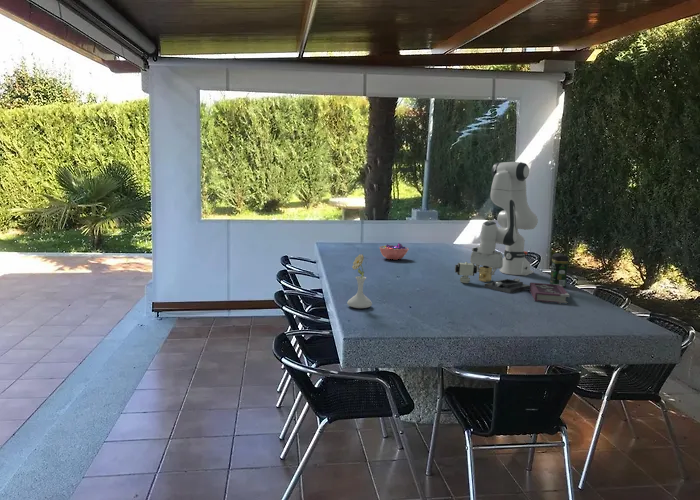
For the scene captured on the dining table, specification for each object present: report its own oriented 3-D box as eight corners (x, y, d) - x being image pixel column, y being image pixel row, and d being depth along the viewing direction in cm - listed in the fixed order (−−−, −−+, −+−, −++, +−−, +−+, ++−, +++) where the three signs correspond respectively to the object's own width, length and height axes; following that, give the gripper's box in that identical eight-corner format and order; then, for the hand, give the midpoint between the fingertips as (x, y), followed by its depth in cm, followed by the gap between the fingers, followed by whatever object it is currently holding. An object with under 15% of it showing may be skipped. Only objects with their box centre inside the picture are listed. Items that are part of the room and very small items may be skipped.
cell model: (376, 257, 400) (377, 240, 398) (405, 257, 402) (406, 241, 401) (380, 261, 383) (381, 244, 382) (410, 262, 386) (411, 245, 384)
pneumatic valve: (475, 284, 324) (477, 263, 322) (454, 283, 324) (456, 262, 322) (474, 282, 329) (475, 261, 327) (453, 281, 329) (455, 260, 328)
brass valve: (485, 279, 339) (487, 260, 337) (493, 280, 335) (494, 262, 334) (476, 280, 333) (478, 262, 331) (483, 282, 329) (485, 263, 328)
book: (568, 305, 285) (569, 295, 285) (534, 302, 288) (535, 292, 288) (560, 293, 310) (561, 284, 309) (529, 291, 313) (530, 282, 312)
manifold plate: (505, 283, 329) (505, 275, 328) (530, 288, 317) (530, 281, 316) (484, 287, 316) (484, 279, 315) (509, 293, 304) (510, 285, 303)
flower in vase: (347, 303, 268) (349, 250, 264) (371, 304, 268) (374, 251, 264) (346, 310, 255) (348, 255, 251) (372, 311, 255) (374, 256, 251)
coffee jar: (547, 283, 333) (550, 252, 330) (561, 284, 333) (564, 252, 330) (553, 287, 324) (556, 254, 321) (567, 288, 324) (570, 255, 321)
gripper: (506, 252, 326) (504, 276, 328) (476, 247, 341) (474, 270, 343) (499, 253, 322) (497, 277, 324) (469, 247, 337) (467, 271, 339)
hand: (485, 273), depth 334 cm, fingers open, 8 cm apart
